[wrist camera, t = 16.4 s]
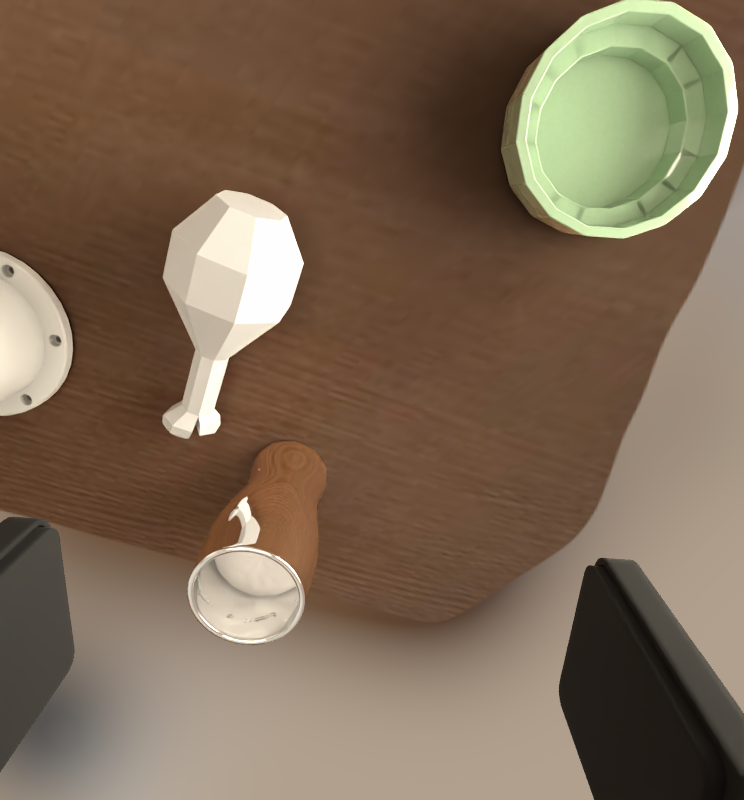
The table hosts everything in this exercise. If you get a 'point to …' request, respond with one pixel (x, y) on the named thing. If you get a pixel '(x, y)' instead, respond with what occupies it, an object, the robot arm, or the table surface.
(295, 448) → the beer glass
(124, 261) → the table surface
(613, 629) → the robot arm
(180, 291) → the chicken leg
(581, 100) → the sage bowl
